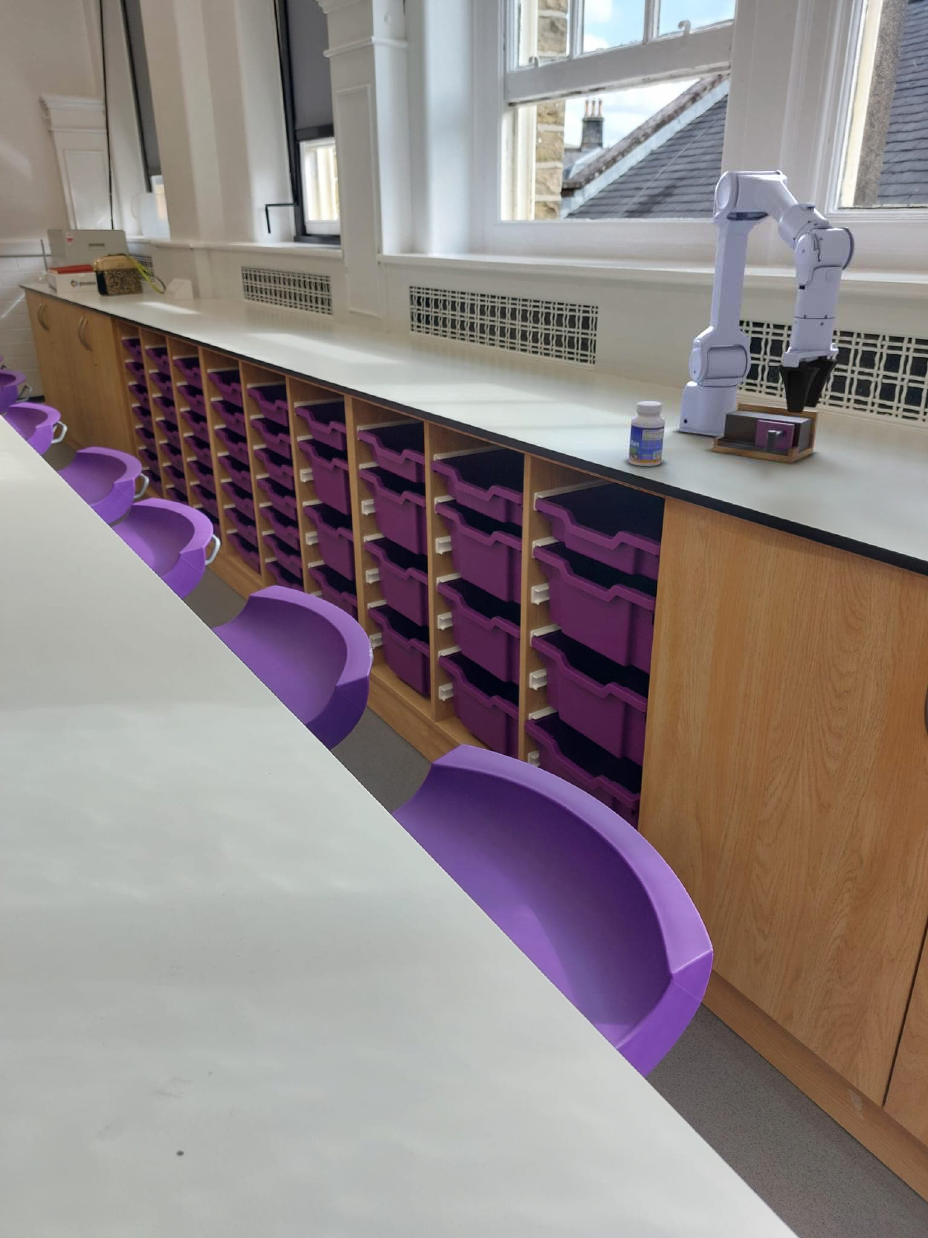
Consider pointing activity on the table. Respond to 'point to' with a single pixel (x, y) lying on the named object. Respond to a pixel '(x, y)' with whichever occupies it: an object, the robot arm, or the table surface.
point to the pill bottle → (647, 434)
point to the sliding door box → (744, 430)
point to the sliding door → (774, 435)
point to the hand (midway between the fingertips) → (801, 409)
